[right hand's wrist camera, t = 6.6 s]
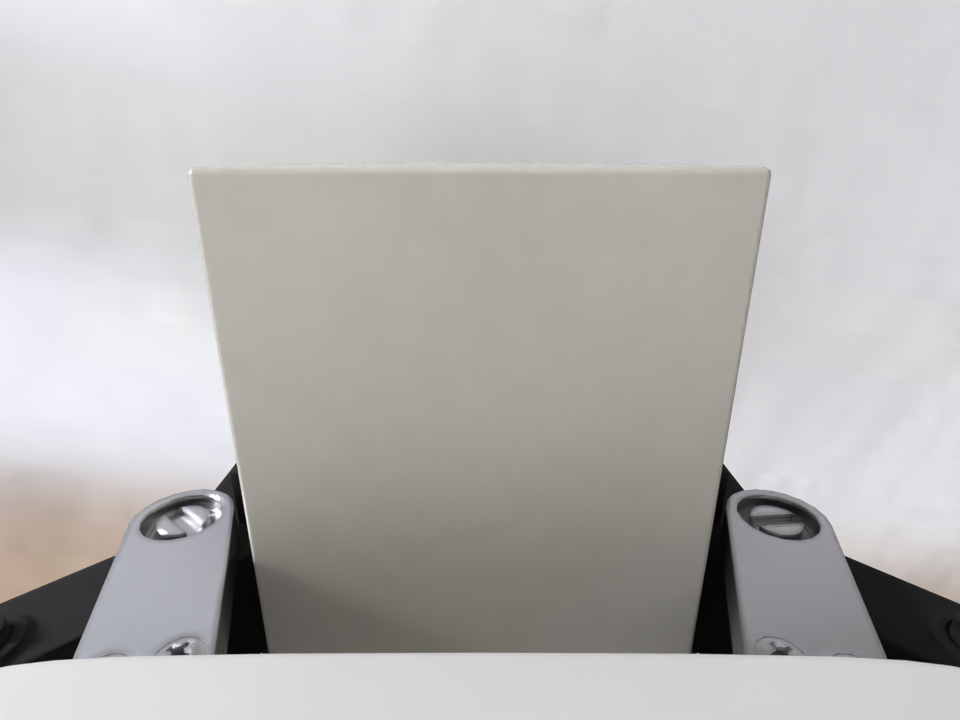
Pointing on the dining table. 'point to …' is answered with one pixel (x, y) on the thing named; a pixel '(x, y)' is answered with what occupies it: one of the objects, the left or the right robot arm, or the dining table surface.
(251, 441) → the block
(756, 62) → the dining table surface
